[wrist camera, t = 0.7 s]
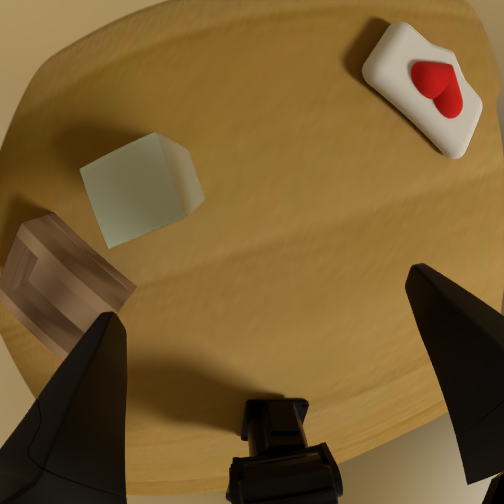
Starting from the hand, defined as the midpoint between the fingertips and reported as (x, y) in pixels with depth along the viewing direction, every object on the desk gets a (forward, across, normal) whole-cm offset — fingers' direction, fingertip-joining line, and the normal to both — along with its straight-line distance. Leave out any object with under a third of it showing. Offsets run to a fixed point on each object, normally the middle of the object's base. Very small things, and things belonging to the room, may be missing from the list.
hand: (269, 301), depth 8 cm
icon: (+19, -18, -4) cm, 26 cm away
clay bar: (+15, +5, +3) cm, 16 cm away
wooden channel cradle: (+13, +16, +9) cm, 22 cm away
